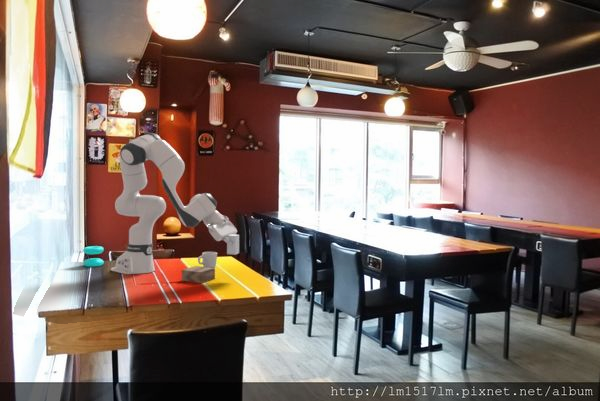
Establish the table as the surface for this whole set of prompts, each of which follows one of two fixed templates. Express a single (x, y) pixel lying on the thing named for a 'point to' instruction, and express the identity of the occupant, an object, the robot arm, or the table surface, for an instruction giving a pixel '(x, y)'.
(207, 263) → the cup
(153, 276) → the table surface
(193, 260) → the table surface
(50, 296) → the table surface
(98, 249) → the donuts
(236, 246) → the block
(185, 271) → the base
